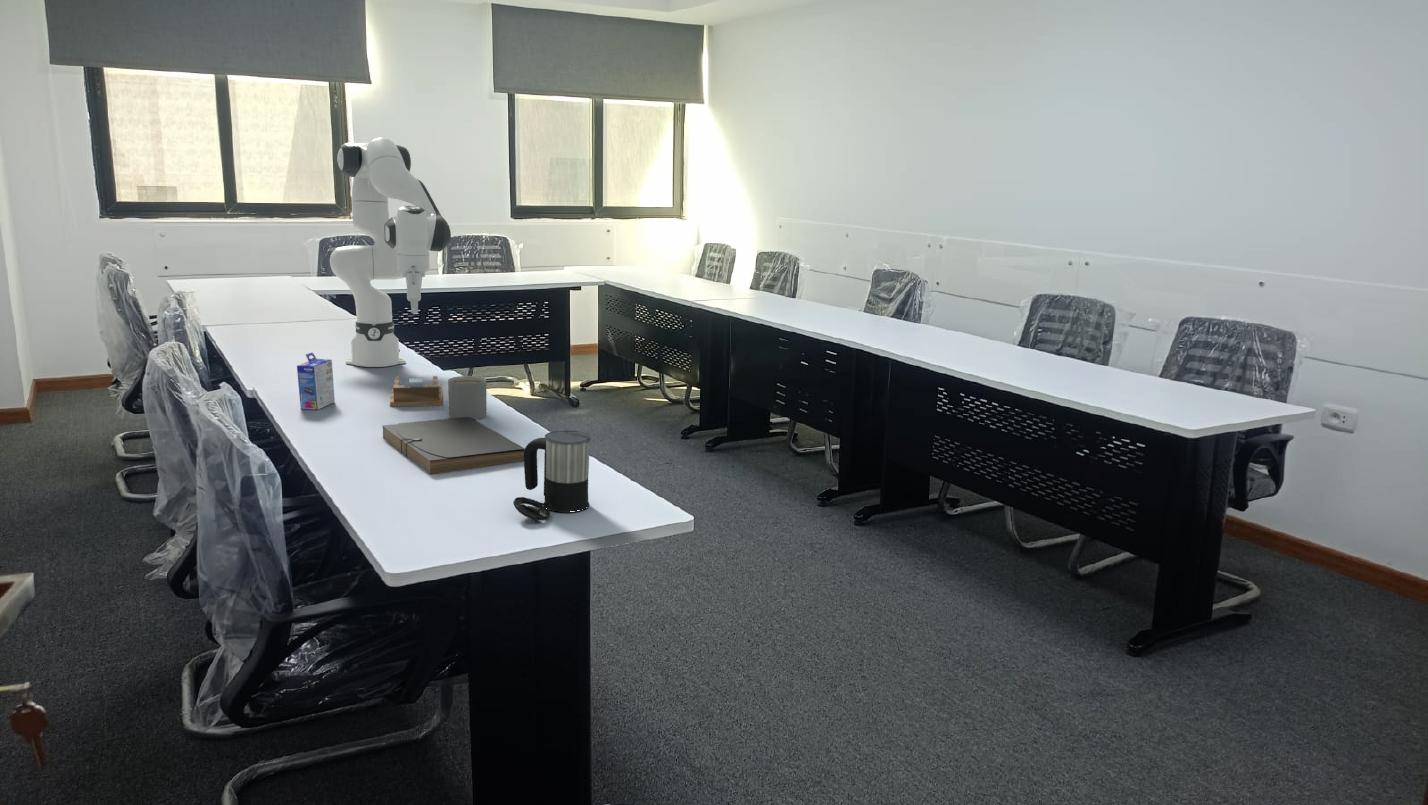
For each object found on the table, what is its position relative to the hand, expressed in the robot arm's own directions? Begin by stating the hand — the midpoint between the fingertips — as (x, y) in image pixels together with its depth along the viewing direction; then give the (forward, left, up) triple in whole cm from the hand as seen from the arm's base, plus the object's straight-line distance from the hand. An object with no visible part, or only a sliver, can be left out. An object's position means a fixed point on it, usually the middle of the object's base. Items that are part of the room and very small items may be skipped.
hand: (414, 312), depth 277 cm
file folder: (+59, +9, -25) cm, 65 cm away
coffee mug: (+26, +13, -24) cm, 38 cm away
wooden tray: (+4, 0, -24) cm, 24 cm away
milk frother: (+106, +26, -24) cm, 112 cm away
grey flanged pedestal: (+11, 0, -23) cm, 25 cm away
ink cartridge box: (+12, -26, -24) cm, 37 cm away
